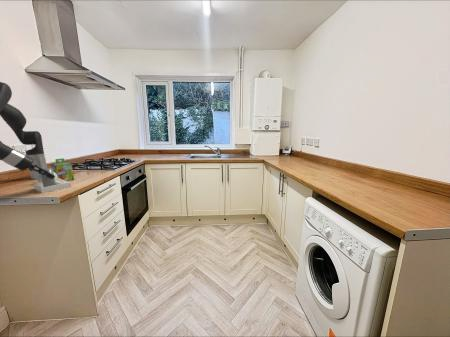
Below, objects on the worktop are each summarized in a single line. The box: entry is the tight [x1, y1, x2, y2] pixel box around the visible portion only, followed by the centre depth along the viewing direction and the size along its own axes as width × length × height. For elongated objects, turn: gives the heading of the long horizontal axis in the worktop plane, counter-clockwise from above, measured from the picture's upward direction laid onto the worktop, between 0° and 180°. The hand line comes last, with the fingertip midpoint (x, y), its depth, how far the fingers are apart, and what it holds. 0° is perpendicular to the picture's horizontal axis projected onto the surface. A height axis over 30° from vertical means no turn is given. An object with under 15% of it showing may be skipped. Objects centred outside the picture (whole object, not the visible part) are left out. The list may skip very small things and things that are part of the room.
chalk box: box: [50, 157, 75, 182], centre depth 130 cm, size 9×9×15 cm
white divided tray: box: [33, 172, 72, 194], centre depth 112 cm, size 15×13×10 cm
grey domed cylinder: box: [41, 167, 56, 187], centre depth 110 cm, size 5×5×11 cm
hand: (51, 176), depth 111 cm, fingers open, 8 cm apart
